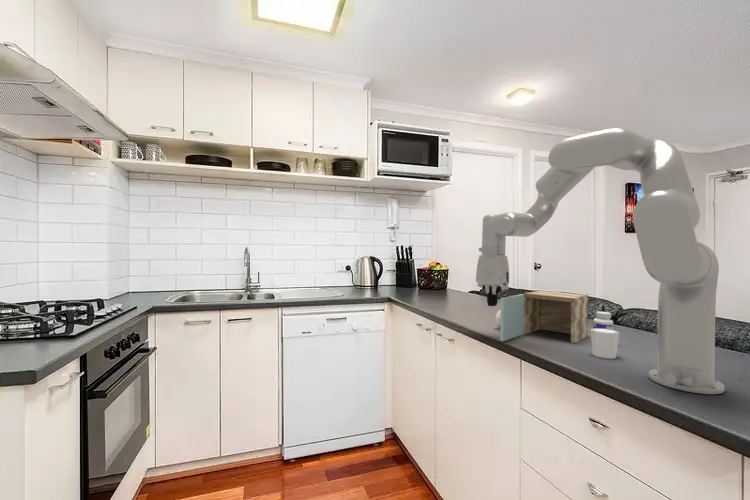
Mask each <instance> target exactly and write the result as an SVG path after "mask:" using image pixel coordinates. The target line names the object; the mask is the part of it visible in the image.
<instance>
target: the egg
mask: <svg viewBox="0 0 750 500" xmlns="http://www.w3.org/2000/svg"><path fill="white" fill-rule="evenodd" d="M494 318H495V319H494V321H495V324H496V326H497V328H499V326H500V309H499V310H497V313H496V314H495V317H494Z"/></svg>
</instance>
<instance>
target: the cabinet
mask: <svg viewBox="0 0 750 500" xmlns="http://www.w3.org/2000/svg"><path fill="white" fill-rule="evenodd" d="M522 294H524V334H523V335H525V336H527V335H528V334H532V333H534V332H537V331H539V330H544V331H550V332H556V333H562V334H567V335H570V344H575V343H578V342H579V341H581V340H583V339H585V338H587V337H588V330H589V329H588V326H589V325H588V322H589V321H588V320H589V319H588V317H589V316H588V313H589V312H588V311H589V310H588V309H589V294H584V293H583V294H582V293H581V294H580V293H572V292H559V291H549V290H536V291H530V292H524V293H522Z"/></svg>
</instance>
